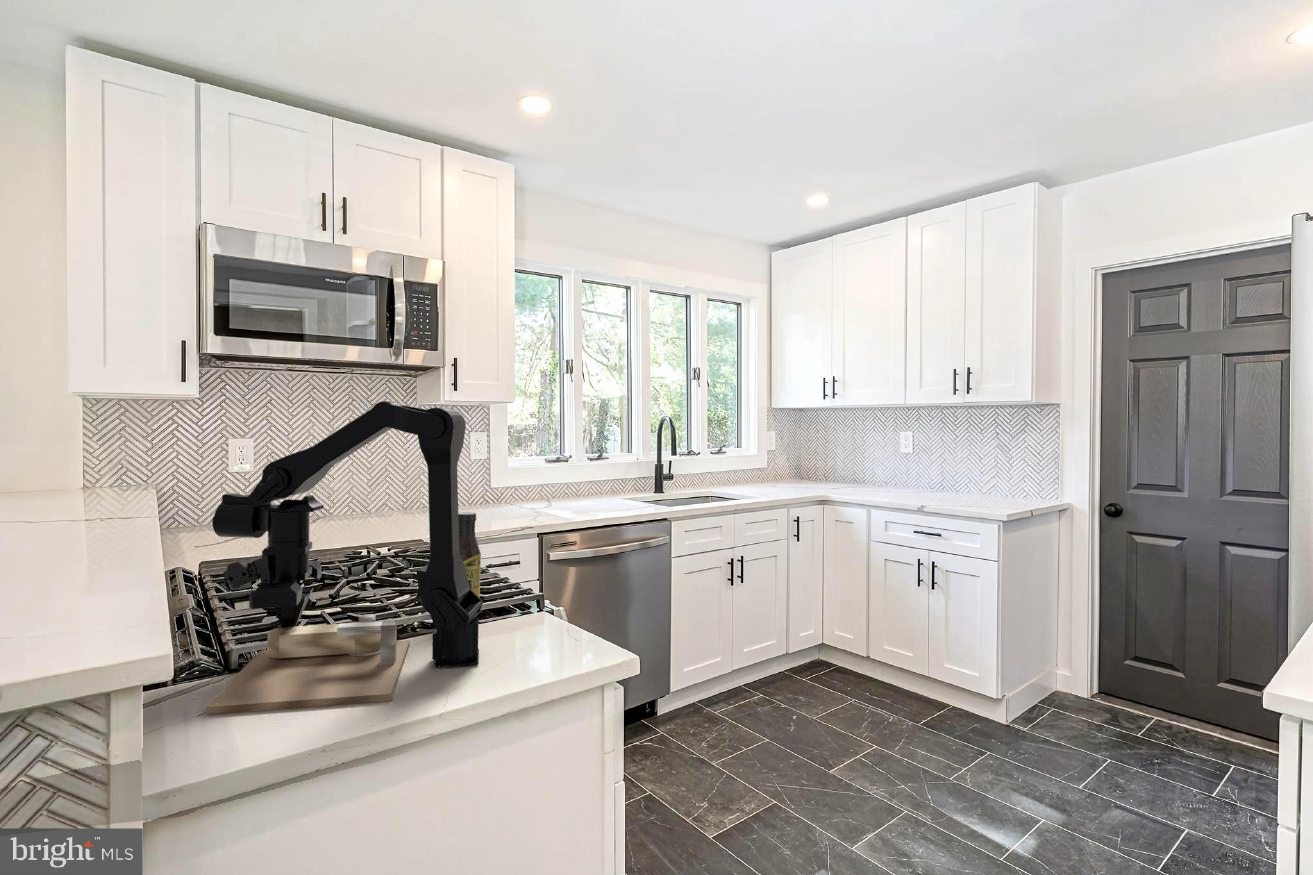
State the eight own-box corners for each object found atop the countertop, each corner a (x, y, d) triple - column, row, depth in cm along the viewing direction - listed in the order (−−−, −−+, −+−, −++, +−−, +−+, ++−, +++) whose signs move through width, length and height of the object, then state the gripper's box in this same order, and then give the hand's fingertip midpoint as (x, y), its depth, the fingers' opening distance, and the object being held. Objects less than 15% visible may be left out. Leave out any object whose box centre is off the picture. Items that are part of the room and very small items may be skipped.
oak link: (385, 641, 109) (385, 620, 109) (382, 652, 104) (382, 629, 104) (272, 649, 105) (272, 626, 105) (263, 660, 100) (263, 637, 100)
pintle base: (409, 645, 112) (410, 604, 111) (391, 700, 90) (392, 649, 90) (262, 654, 106) (263, 610, 106) (206, 714, 85) (206, 660, 85)
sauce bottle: (469, 621, 125) (471, 516, 125) (439, 619, 126) (440, 514, 126) (485, 612, 132) (487, 511, 131) (456, 609, 133) (457, 510, 132)
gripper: (249, 529, 112) (248, 621, 113) (208, 552, 94) (207, 662, 95) (322, 527, 115) (321, 617, 116) (296, 550, 97) (295, 656, 98)
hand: (288, 636), depth 106 cm, fingers closed
